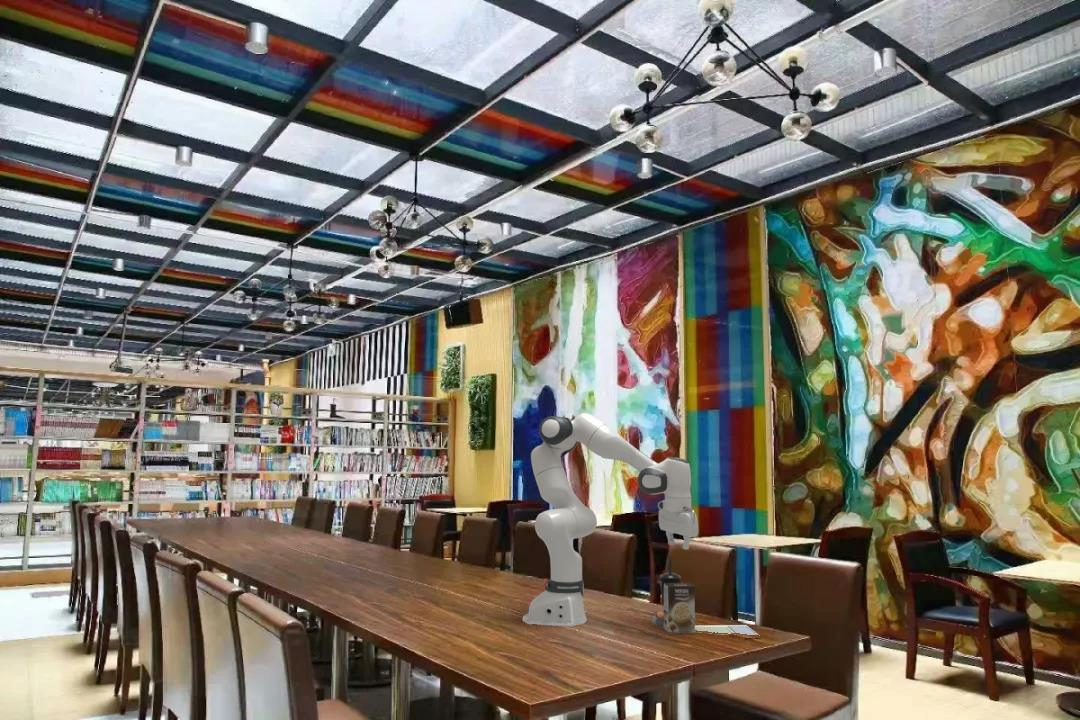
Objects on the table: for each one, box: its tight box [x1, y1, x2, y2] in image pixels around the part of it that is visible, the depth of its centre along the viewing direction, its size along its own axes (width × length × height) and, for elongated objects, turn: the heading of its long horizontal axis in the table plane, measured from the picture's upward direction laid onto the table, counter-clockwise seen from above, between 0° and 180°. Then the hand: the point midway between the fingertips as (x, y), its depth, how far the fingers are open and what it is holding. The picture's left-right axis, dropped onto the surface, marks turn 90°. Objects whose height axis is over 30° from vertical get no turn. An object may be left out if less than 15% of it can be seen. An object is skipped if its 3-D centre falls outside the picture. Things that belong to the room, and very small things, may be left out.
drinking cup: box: [659, 557, 682, 606], centre depth 273 cm, size 8×8×20 cm
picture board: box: [695, 624, 759, 635], centre depth 246 cm, size 20×15×1 cm
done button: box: [656, 611, 664, 619], centre depth 255 cm, size 3×3×2 cm
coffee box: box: [663, 582, 696, 634], centre depth 246 cm, size 9×6×16 cm
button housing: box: [651, 615, 664, 627], centre depth 255 cm, size 6×6×3 cm
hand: (678, 547), depth 248 cm, fingers open, 8 cm apart
